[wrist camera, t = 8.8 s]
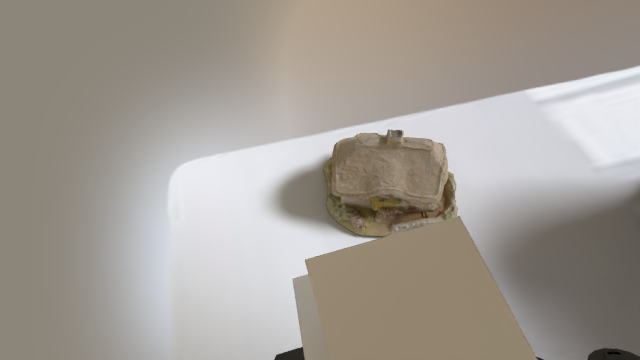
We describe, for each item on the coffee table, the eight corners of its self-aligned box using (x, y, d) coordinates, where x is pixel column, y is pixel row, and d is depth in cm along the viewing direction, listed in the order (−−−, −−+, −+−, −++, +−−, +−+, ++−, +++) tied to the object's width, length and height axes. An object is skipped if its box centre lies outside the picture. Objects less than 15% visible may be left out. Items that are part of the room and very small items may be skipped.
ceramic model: (312, 230, 36) (304, 179, 28) (329, 144, 42) (326, 80, 33) (453, 249, 34) (490, 201, 26) (450, 157, 40) (480, 93, 32)
